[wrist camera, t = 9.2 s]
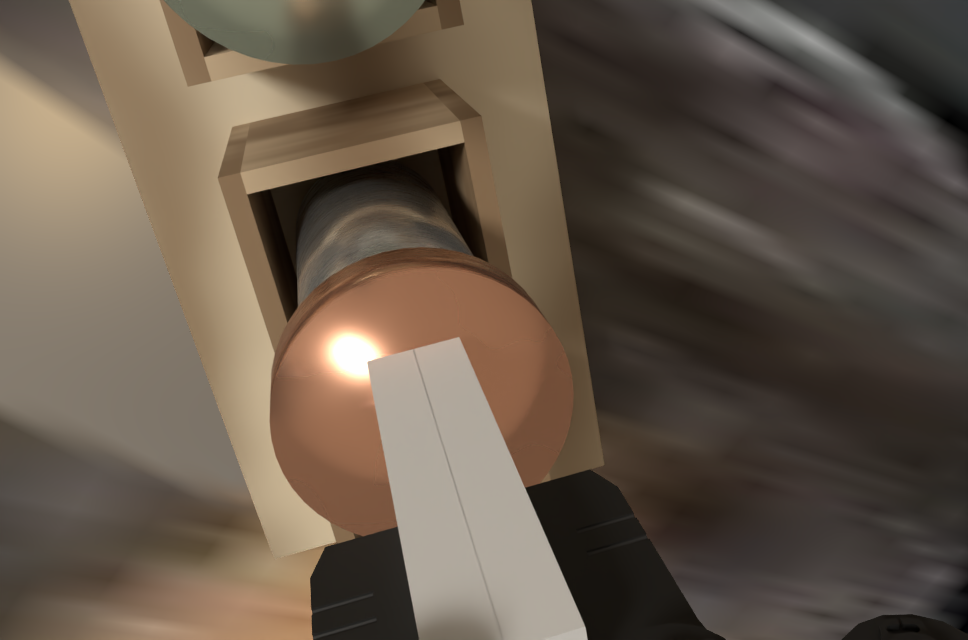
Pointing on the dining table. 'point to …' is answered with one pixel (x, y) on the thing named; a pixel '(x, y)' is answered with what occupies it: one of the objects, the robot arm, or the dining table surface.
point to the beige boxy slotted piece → (323, 151)
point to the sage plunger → (296, 26)
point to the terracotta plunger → (399, 340)
